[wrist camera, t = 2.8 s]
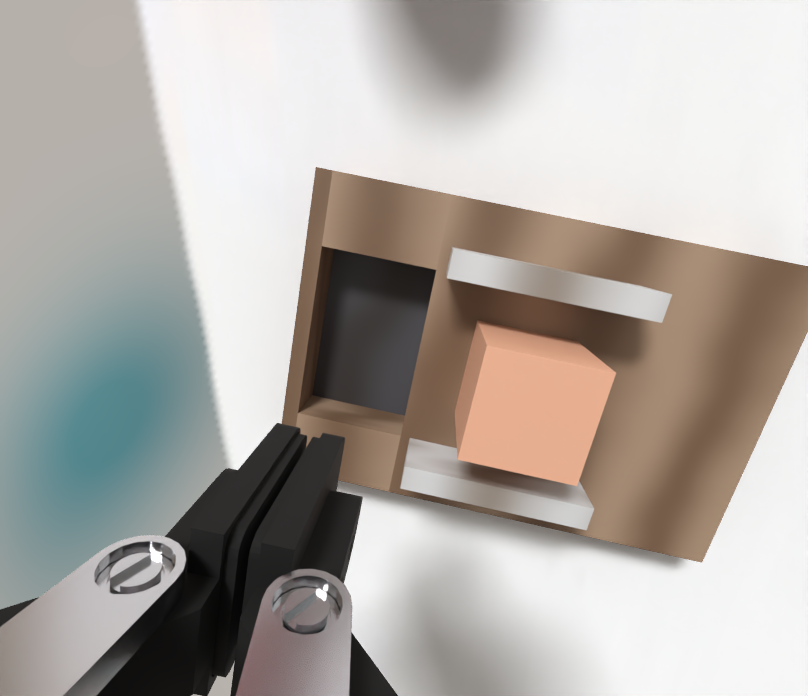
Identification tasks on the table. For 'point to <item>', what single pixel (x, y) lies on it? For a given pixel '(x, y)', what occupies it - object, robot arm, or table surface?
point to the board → (550, 315)
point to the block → (530, 403)
